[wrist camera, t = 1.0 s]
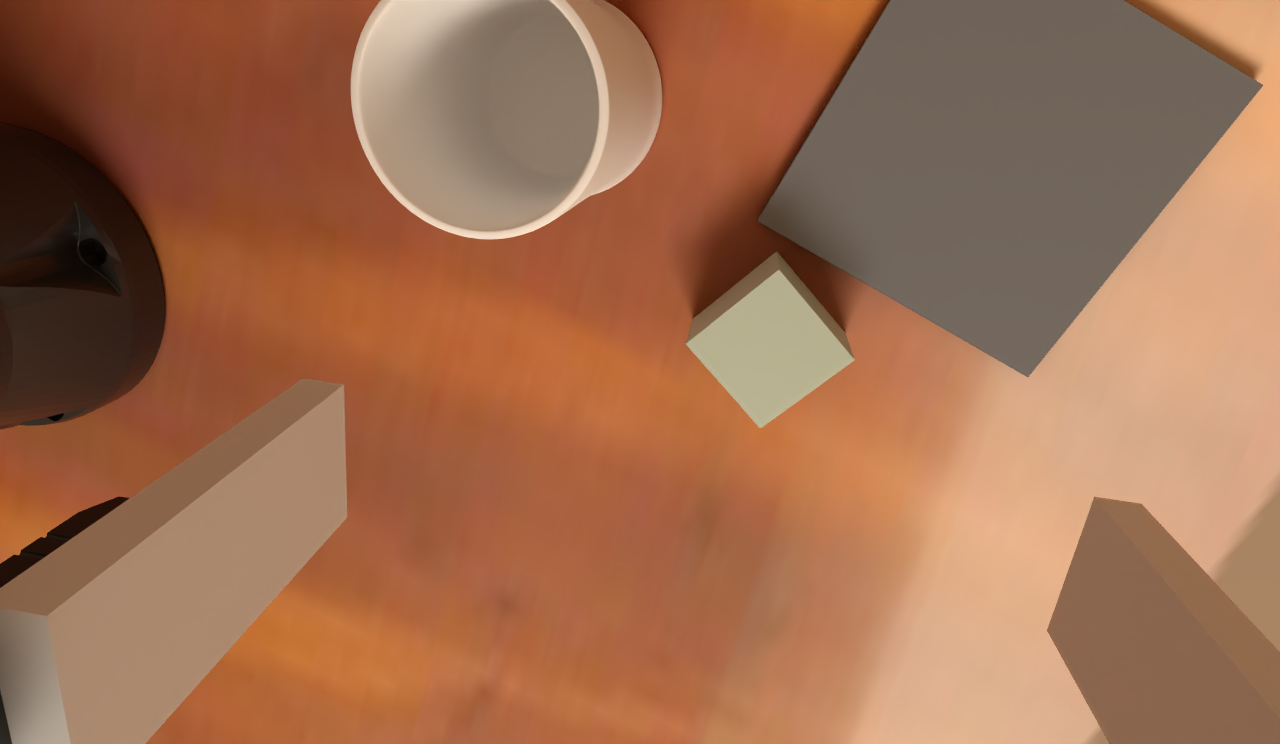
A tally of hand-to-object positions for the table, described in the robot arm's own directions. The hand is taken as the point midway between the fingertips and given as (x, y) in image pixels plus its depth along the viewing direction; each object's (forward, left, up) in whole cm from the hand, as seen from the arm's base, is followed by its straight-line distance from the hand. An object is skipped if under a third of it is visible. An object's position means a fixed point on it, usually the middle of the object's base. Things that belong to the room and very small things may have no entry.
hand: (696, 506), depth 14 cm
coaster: (+7, +9, -24) cm, 26 cm away
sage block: (+3, -2, -24) cm, 24 cm away
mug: (-10, +4, -24) cm, 26 cm away
